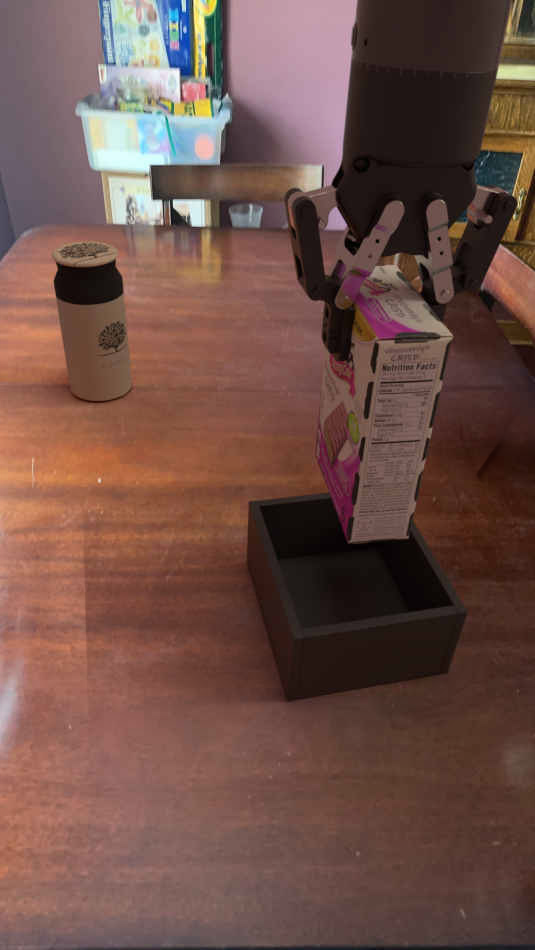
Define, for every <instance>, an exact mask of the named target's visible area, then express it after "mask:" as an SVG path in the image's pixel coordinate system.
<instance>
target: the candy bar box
mask: <svg viewBox="0 0 535 950" xmlns="http://www.w3.org/2000/svg"><path fill="white" fill-rule="evenodd" d="M352 307H353V308H354V309H355V314H354V321H353V329H352V337H351V345H350V353H349V359H348V361H336V360H335V359H334V357H333V356H332V354H331V353H329V352H328V350H327V348H326V347H325V346H324V352H323V366H322V378H321V387H320V399H319V409H318V422H317V433H316V443H315V450H314V451H315V453H314V456H315V458H316V461H317V464H318V466H319V470H320V472H321V474H322V477H323V479H324V482H325V484H326V487H327V490H328V492H329V493H330V496H331V498H332V501H333V504H334V506H335V509H336V512H337V515H338V517H339V520H340V523H341V525H342V528H343V531H344V534H345V536H346V539H347V542H348V543H368V542H376V541H387V540H400V539H408V538H409V535H410V529H411V525H412V520H413V521H414V517H415V512H416V506H417V502H418V497H419V494H420V489H421V483H422V479H423V474H424V469H425V465H426V460H427V456H428V451H429V446H430V442H431V438H432V434H433V433H432V432H433V428H434V423H435V419H436V414H437V411H438V406H439V401H440V396H441V391H442V387H443V383H444V377H445V371H446V367H447V363H448V358H449V354H450V350H451V345H452V341H453V339H454V335H453V333H452V332H451V331H450V329H448V328H447V326H446V325H445V324H444V322H443V323H442V322H441V320H440V319H439V318H438V317H437V315H436V314H435V313H434V312H433V311H432V309H431V308H430V307H429V306H428V304H427V303H426V302H425V301H424V299H423V298H422V297H421V296H420V295H419V293H418V292H417V291H416V290H415V288H414V287H413V286H412V285H411V283H410V281H409V279H408V278H407V277H406V276H405V274H404V273H403V272H402V270H400V268H399V267H398V266H397V265H396V264H376V266H375V268H374V270H373V272H372V274H371V275H370V276H369V277H367V278H365V280H364V282H363V284H362V286H361V288H360V290H359V292H358V294H357V296H356V298H355V300H354V302H353V304H352Z"/></svg>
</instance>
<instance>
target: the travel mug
mask: <svg viewBox="0 0 535 950" xmlns="http://www.w3.org/2000/svg"><path fill="white" fill-rule="evenodd" d="M118 256H119V251H118V249H117V248H116V247H115V246H114V245H111V244H109V243H106V242H100V241H91V240H89V241H87V240H86V241H85V240H83V241H74V242H69V243H65V244H62V245H59V246H57V247H56V248H54V249H53V250H52V252H51V258H52V260H53V261H54V262H55V265H56V268H57V270H56V273H55V275H54V278H53V287H54V293H55V299H56V306H57V312H58V319H59V326H60V332H61V339H62V345H63V350H64V351H63V352H64V358H65V365H66V372H67V376H68V384H69V389H70V392H71V393H72V394H73V395H74V396H75V397H77V398H79V399H82V400H86V401H93V402H103V401H111V400H115V399H117V398H120V397H123V396H124V395H125V394H127V393H129V391H130V390H131V389H132V386H133V378H132V366H131V355H130V345H129V335H128V334H129V333H128V321H127V310H126V302H125V300H126V299H125V289H124V278H123V276H122V274H121V272H120V271H119V269H118V268H117V258H118Z"/></svg>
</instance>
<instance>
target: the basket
mask: <svg viewBox="0 0 535 950" xmlns="http://www.w3.org/2000/svg"><path fill="white" fill-rule="evenodd" d="M247 513H248V514H247V537H246V539H247V542H246V563H247V564H246V565H247V568H248V571H249V574H250V578H251V581H252V586H253V588H254V592H255V595H256V599H257V602H258V605H259V609H260V613H261V616H262V619H263V623H264V626H265V630H266V633H267V636H268V640H269V644H270V647H271V650H272V653H273V657H274V660H275V664H276V667H277V671H278V674H279V678H280V681H281V684H282V687H283V691H284V695H285V698H286V701H287V702H292V701H298V700H303V699H308V698H314V697H321V696H325V695H331V694H337V693H342V692H347V691H353V690H359V689H364V688H369V687H375V686H381V685H386V684H387V685H388V684H393V683H397V682H403V681H408V680H414V679H419V678H420V679H421V678H426V677H431V676H437V675H442V674H447V673H449V669H450V666H451V664H452V660H453V657H454V654H455V651H456V648H457V645H458V642H459V639H460V636H461V633H462V631H463V627H464V625H465V621H466V619H467V616H468V613H469V611H468V609H467V607H466V605H465V604H464V603H463V601H462V599H461V598H460V596H459V594H458V593H457V591H456V589H455V588H454V586H453V584H452V583H451V581H450V579H449V578H448V576H447V574H446V573H445V571H444V569H443V567H442V566H441V564H440V563H439V561H438V559H437V558H436V556H435V555H434V553H433V551H432V550H431V548H430V546H429V545H428V543H427V541H426V540H425V538H424V536H423V535H422V533H421V531H420V530H419V528H418V526H417V524H416V522H415V521H414V519H413V520H412V525H411V529H410V535H409V538H408V539H400V540H387V541H376V542H368V543H348V542H347V539H346V536H345V534H344V531H343V528H342V525H341V523H340V520H339V517H338V515H337V512H336V509H335V506H334V504H333V501H332V498H331V496H330V493H329V491H328V492H320V493H312V494H303V495H293V496H285V497H277V498H269V499H267V498H266V499H261V500H260V499H259V500H250V501H248V511H247Z"/></svg>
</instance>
